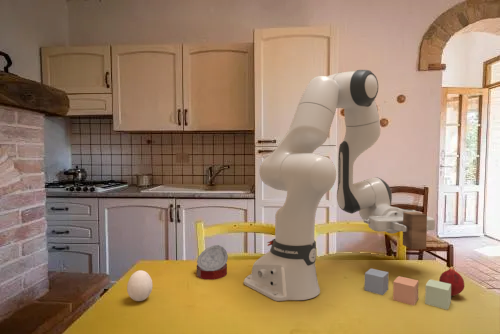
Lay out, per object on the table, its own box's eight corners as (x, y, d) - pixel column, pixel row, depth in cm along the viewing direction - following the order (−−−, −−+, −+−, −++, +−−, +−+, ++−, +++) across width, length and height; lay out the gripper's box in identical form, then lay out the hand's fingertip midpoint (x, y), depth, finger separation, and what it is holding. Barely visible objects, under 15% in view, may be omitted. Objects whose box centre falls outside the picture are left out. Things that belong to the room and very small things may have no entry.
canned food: (227, 286, 103) (239, 263, 100) (202, 292, 96) (213, 267, 93) (211, 262, 111) (221, 240, 107) (186, 266, 104) (196, 242, 101)
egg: (138, 308, 79) (137, 277, 79) (122, 302, 82) (121, 272, 82) (157, 298, 84) (157, 269, 84) (141, 292, 88) (141, 265, 87)
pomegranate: (468, 301, 82) (469, 271, 82) (444, 299, 83) (444, 270, 83) (458, 292, 88) (458, 264, 87) (435, 290, 89) (436, 262, 89)
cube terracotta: (393, 300, 83) (393, 281, 83) (398, 293, 87) (398, 276, 87) (413, 305, 80) (414, 286, 80) (418, 298, 84) (418, 280, 84)
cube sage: (425, 304, 81) (425, 285, 81) (429, 297, 85) (429, 279, 85) (447, 310, 78) (448, 290, 78) (450, 302, 82) (451, 284, 81)
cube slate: (364, 290, 89) (364, 273, 89) (370, 284, 93) (370, 268, 93) (382, 295, 86) (382, 277, 86) (388, 289, 90) (388, 272, 90)
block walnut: (402, 244, 96) (403, 212, 95) (416, 244, 96) (417, 211, 96) (411, 249, 91) (412, 215, 91) (426, 248, 92) (427, 214, 91)
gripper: (361, 210, 105) (383, 219, 91) (417, 209, 107) (448, 217, 94) (360, 229, 105) (383, 240, 91) (417, 228, 108) (447, 238, 94)
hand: (416, 229), depth 93 cm, fingers closed on block walnut, 4 cm apart
